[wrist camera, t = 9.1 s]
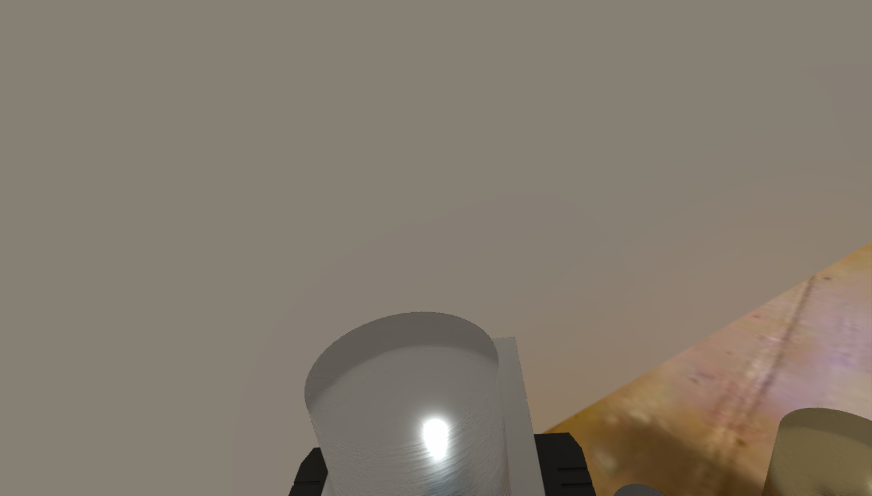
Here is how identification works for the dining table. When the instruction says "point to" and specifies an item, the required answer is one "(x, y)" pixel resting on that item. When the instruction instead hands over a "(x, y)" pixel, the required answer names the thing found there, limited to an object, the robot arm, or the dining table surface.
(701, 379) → the dining table surface
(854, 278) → the dining table surface
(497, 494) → the steel roller
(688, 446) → the dining table surface
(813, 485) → the fat brass roller
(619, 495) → the short dark roller
